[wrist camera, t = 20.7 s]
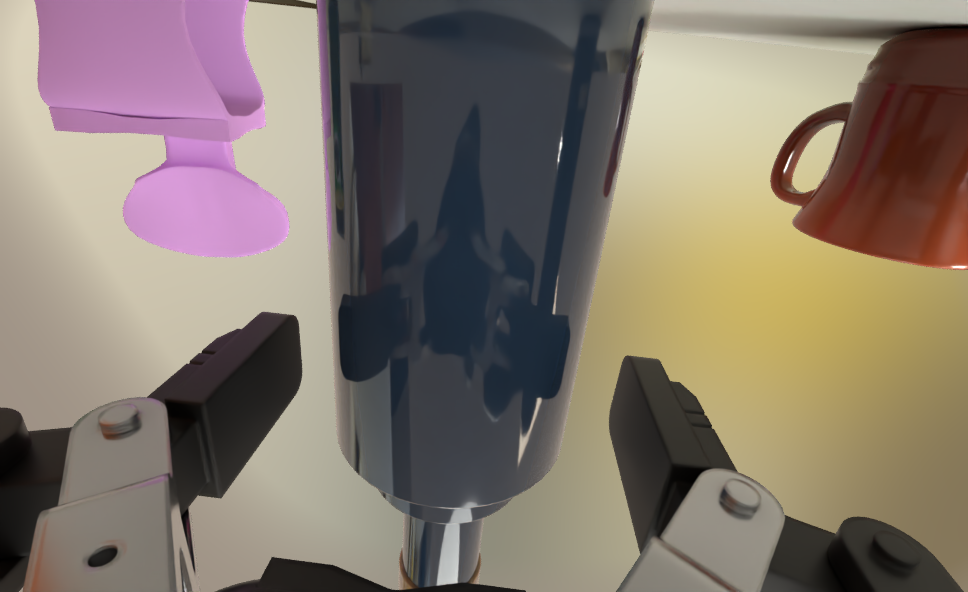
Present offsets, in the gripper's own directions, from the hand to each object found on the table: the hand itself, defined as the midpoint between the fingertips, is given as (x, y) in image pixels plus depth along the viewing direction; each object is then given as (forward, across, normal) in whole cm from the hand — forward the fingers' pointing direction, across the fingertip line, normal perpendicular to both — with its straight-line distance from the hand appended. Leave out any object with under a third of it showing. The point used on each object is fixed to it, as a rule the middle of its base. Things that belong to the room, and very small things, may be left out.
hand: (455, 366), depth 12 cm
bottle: (+1, 0, -10) cm, 11 cm away
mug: (+19, -21, -11) cm, 30 cm away
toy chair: (+13, +15, -11) cm, 22 cm away
